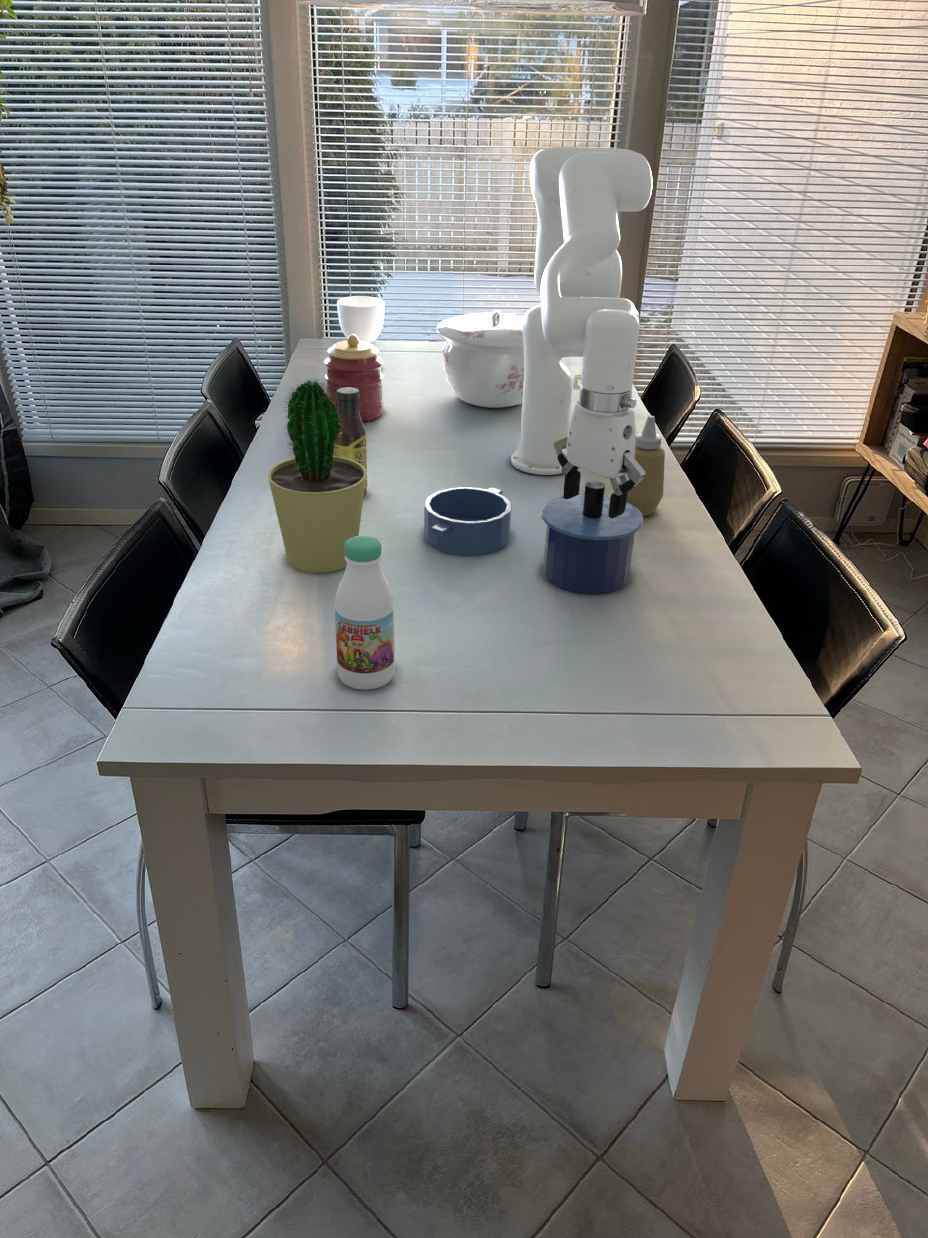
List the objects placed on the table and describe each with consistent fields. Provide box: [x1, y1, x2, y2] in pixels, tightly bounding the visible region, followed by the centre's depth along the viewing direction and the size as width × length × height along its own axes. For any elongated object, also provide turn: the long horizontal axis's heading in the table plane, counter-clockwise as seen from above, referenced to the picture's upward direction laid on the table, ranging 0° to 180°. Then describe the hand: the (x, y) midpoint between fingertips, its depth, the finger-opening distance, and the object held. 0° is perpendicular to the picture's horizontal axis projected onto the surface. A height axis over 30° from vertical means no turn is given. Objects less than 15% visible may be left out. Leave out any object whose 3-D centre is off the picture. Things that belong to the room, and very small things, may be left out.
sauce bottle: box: [333, 387, 368, 497], centre depth 176 cm, size 7×6×20 cm
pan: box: [423, 486, 513, 556], centre depth 166 cm, size 15×20×6 cm
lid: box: [541, 480, 644, 540], centre depth 150 cm, size 16×16×6 cm
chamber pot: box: [435, 310, 525, 409], centre depth 225 cm, size 28×28×21 cm
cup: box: [336, 295, 385, 344], centre depth 243 cm, size 12×12×17 cm
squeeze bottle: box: [620, 414, 666, 517], centre depth 174 cm, size 8×8×18 cm
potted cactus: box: [267, 378, 368, 574], centre depth 151 cm, size 15×15×30 cm
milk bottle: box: [334, 535, 396, 691], centre depth 125 cm, size 8×8×20 cm
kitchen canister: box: [323, 335, 385, 422], centre depth 215 cm, size 13×13×18 cm
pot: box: [542, 524, 636, 595], centre depth 154 cm, size 14×14×10 cm
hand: (593, 505), depth 151 cm, fingers open, 8 cm apart
